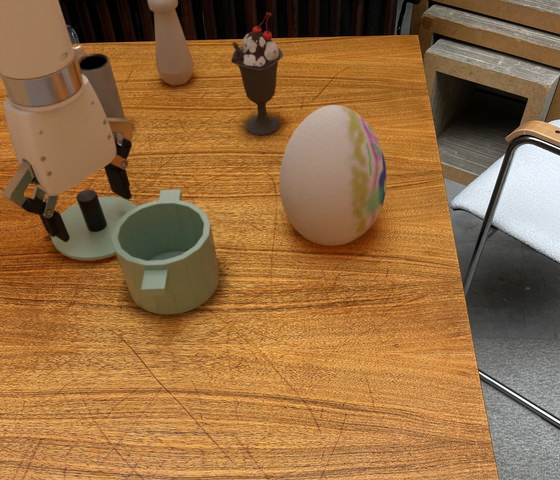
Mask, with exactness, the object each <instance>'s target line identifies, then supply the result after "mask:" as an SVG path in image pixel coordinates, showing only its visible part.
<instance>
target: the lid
mask: <svg viewBox="0 0 560 480" xmlns="http://www.w3.org/2000/svg"><path fill="white" fill-rule="evenodd" d="M75 198H76V202H77V203H75V204H73V205H71V206H70V207H68V208H66V209H65V210H64V211H63V212H62V213H60V215H61V217H62V220H63V222H64V224H65V227H66V229H67V232H68V234H69V237H70V238H69V241H67V242H64V241H62V240H61V239H59V238H58V237H56V236H55V237H52V236H51V235H50V238H51V242H52V244H53V247H54V248H55V249H56V250H57V251H58V252H59V253H60V254H61V255H63V256H65V257H67V258H70V259H72V260H77V261H89V262H90V261H98V260H103V259H108V258H111V257H113V256H117V255H116V252H115V249H114V246H113V244H112V241H111V238H112V234H113V230H114V226H115V225H116V224H117V222H118V221H119V220H120V219H121V218H122V217H123V215H124V214H126V213H127V212H129V211H131V210H132V209H134V208H136V207H137V206H138V205H136V203H134V202H133V201H131V200H130V199H129V200H126V199H124V198H122V197H120V196H98V193H97V192H96V190H94V189H89V188H88V189H84V190H81V191H79V192H78V193H77V194H76V197H75Z"/></svg>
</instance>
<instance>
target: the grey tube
mask: <svg viewBox="0 0 560 480" xmlns="http://www.w3.org/2000/svg"><path fill="white" fill-rule="evenodd" d="M79 64H80V68H81V71H82V74H83V75H85V76H86V77H87V79H88V80H89V82H90V84H91V86H92V87H93V89H94V91H95V93H96V95H97V97H98V99H99V101H100V103H101V105H102V107H103V110H104V112H105V115H106V117H107V118H125V119H126V115H125V112H124V108H123V105H122V101H121V98H120V94H119V90H118V86H117V83H116V79H115V75H114V72H113V68H112V65H111V60H110V58H109V56H107V55H106V54H104V53H89V54H86V58H85V59H83V60H81V63H79ZM112 134H113V137H114V140H115V139H116V138H117V137H118V135H117V132H112Z"/></svg>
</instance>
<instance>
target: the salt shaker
mask: <svg viewBox="0 0 560 480" xmlns="http://www.w3.org/2000/svg"><path fill="white" fill-rule="evenodd" d="M146 2H147V5H148V8H149V10H150V11H152V12H153V19H154V20H153V21H154V22H153V23H154V38H155V39H154V43H155V44H154V46H155V47H154V48H155V49H154V50H155V67H156V71H157V73H158V74H159V76H160V77H161V80H162V81H163V82H164V83H165V84H168V85H170V86H172V87H176V86H181V85H185V84H186V83H187V82H188V81H189V80H190V79H192V73H193V69H194V66H195V65H194V59H193V57H192V54H191V50H190V48H189V45H188V43H187V40H186V37H185V34H184V31H183V28H182V25H181V22H180V20H179V17H178V13H177V11H176V9H177V7H178V6H179V1H178V0H146Z"/></svg>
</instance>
